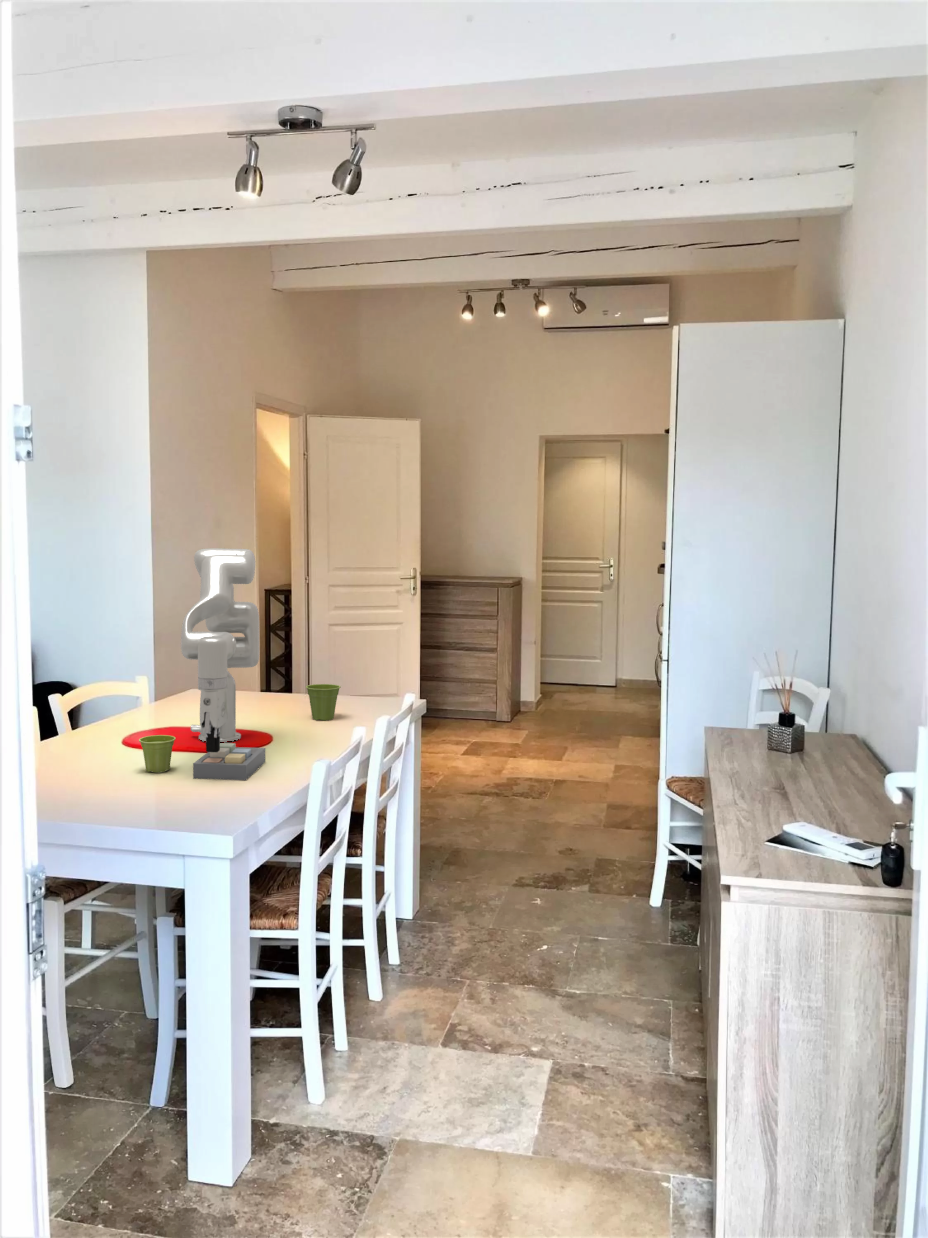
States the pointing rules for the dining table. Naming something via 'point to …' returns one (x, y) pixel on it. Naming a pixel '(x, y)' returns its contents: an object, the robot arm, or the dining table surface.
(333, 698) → the plant pot
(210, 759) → the key terracotta
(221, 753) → the key cream
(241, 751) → the key slate
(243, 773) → the keypad
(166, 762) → the plant pot
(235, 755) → the key ochre
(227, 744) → the key sage
